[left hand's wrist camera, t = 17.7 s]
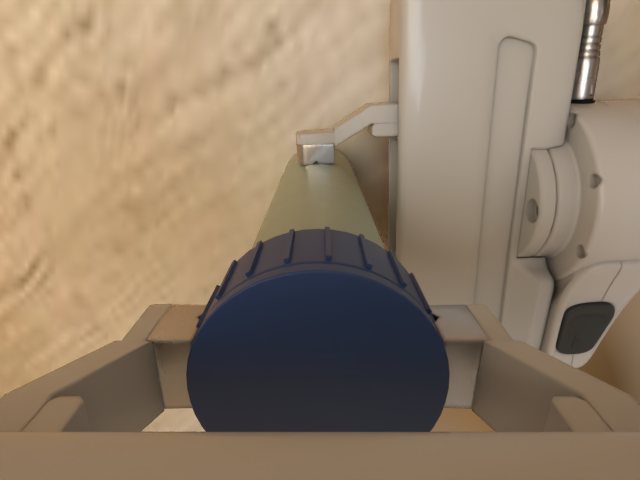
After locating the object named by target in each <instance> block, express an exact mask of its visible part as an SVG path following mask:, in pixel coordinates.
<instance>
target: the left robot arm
mask: <svg viewBox="0 0 640 480" xmlns="http://www.w3.org/2000/svg"><path fill="white" fill-rule="evenodd" d="M429 306H430V308H431V310H432V313H431V314H432V315H433V317H434V320H435V325H436V327H437V329H438V331H439V333H440V336H441V338H442V342H443V344H444V346H445V350H446V353H447V357H448V362H449V372H450V377H449V390H448V394H447V398H446V403H445V405H444V408H467V409H472V411H473V412H474V413H475V414H476V415H478V416H479V417H480V418H481V419H482V420H483V421H484V422H486V423H487V424H488V425H489V426H490V427H491V428H492V429H493V430H494V431H496V432H141V431H142V430H143V429H144V428H145V427H146V426H147V425H149V424H150V423H151V422H152V421H153V420H154V419H155V418H156V417H158V416H159V415H160V414H161V413H162V412H163V411H164V409H169V408H192V405H191V403H190V399H189V394H188V390H187V380H186V370H187V360H188V356H189V352H190V349H191V345H192V343H193V341H194V339H195V337H196V334H197V332H198V330H199V328H197V327H196V325H197V323H198V321H199V319H200V317H201V315H202V313H203V311H204V309H205V307H206V305H179V304H174V305H172V304H153V305H150V306H149V307H148V308H147V309H146V311H145V312H144V313H143V314H142V316H141V317H140V318H139V319H138V321H137V322H136V323H135V325H134V326H133V327H132V328H131V330H130V331H129V332H128V333H127V335H126V336H125V337H124V338H123V340H122V341H114V342H112V343H110V344H108V345H106V346H104V347H102V348H100V349H98V350H95V351H93V352H91V353H89V354H87V355H85V356H83V357H81V358H79V359H77V360H75V361H73V362H71V363H69V364H67V365H65V366H63V367H61V368H59V369H57V370H54V371H52V372H50V373H48V374H46V375H44V376H42V377H40V378H38V379H36V380H34V381H32V382H30V383H28V384H26V385H24V386H22V387H20V388H18V389H16V390H13V391H11V392H9V393H7V394H5V395H4V396H3V397H2V398H1V399H0V480H640V404H639V403H638V402H637V401H636V400H635V399H634V398H633V397H632V396H631V395H629V394H627V393H625V392H623V391H621V390H619V389H617V388H615V387H613V386H611V385H609V384H607V383H605V382H603V381H601V380H599V379H597V378H595V377H593V376H591V375H589V374H587V373H585V372H583V371H581V370H579V369H577V368H575V367H573V366H571V365H569V364H567V363H564V362H562V361H560V360H558V359H556V358H554V357H552V356H550V355H548V354H546V353H544V352H542V351H540V350H538V349H536V348H534V347H532V346H530V345H528V344H526V343H524V342H522V341H514V340H513V339H512V337H511V336H510V335H509V333H508V332H507V331H506V330H505V328H504V327H503V326H502V324H501V323H500V322H499V321H498V319H497V318H496V317H495V315H494V314H493V313H492V311H491V310H490V309H489V308H488V306H487V305H484V304H469V305H429Z"/></svg>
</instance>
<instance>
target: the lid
mask: <svg viewBox="0 0 640 480" xmlns="http://www.w3.org/2000/svg"><path fill="white" fill-rule="evenodd" d="M431 313H432V310H431V308H430V306H429V304H428V302H427V300H426V298H425V296H424V294H423V292H422V290H421V288H420V286H419V284H418V282H417V280H416V278H415V276H414V274H413V273H410V274H409V273H408V271H407V270H406V269H405V268H404V266H403V265H402V264H401V263H400V262H399V261H398V260H397V259H396V257H395V255H394V253H393V251H391V250H389V251H387V250H385V249H384V248H382V247H380V246H379V245H377V244H376V243H374V242H372V241H370V240H368V239H365V237H364V235H363V234H359V236H358V235H355V234H351V233H348V232H343V231H338V230H331V229H330V227H325V229H305V230H299V231H294V229H290V230H289V232H288V233H285V234H282V235H279V236H276V237H273V238H271V239H269V240H267V241H265V242H262V241H259V242H257V244H256V247H254V248H253V249H251V250H250V251H248V252H247V253H246V254H245V255H244V256H243V257H241V258H240V259H239V260H238V261H235V260H234V261H233V262H232V264H231V266H230V268H229V270H228V272H227V274H226V276H225V278H224V280H223V282H222V284H221V286H218V285H217V286H216V288H215V290H214V292H213V294H212V296H211V298H210V300H209V302H208V304H207V305H206V307H205V309H204V311H203V313H202V315H201V317H200V319H199V321H198V323H197V325H196V327H197V328H199V330H198V332H197V334H196V337H195V339H194V341H193V343H192V345H191V349H190V352H189V356H188V360H187V370H186V380H187V390H188V394H189V399H190V403H191V405H192V408H193V410H194V413H195V415H196V417H197V419H198V420H199V422H200V424H201V425H202V427H203V428H204V430H205V431H206V432H430V431H431V430H432V428H433V427H434V425H435V424H436V422H437V420H438V419H439V417H440V415H441V413H442V410H443V408H444V405H445V403H446V398H447V394H448V390H449V377H450V372H449V362H448V357H447V353H446V350H445V346H444V344H443V342H442V338H441V336H440V333H439V331H438V329H437V327H436V325H435V320H434V317H433V315H432V314H431Z"/></svg>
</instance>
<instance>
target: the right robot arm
mask: <svg viewBox="0 0 640 480" xmlns="http://www.w3.org/2000/svg"><path fill="white" fill-rule="evenodd" d="M609 9H610V0H391V1H390V48H389V102H385V103H369V104H365V105H363V106H362V107H360V108H359V109H358V110H356V111H355V112H353V113H352V114H350V115H349V116H347V117H346V118H344V119H343V120H341V121H340V122H338V123H337V124H335V125H334V126H333V129H316V130H303V131H297V133H296V143H297V154H298V164H299V165H312V164H314V163H315V162H318V163H319V164H335V146H337V145H339V144H340V143H342V142H344V141H345V140H347V139H348V138H350V137H351V136H353V135H355V134H356V133H358V132H359V131H361V130H362V129H364V128H365V127H367V130H368V131H369V132H370V133H371V134H372V135H373V136H374V137H383V136H389V166H388V251H389V250H391V251H393V253H394V255H395V257H396V259H397V260H398V261H399V262H400V263H401V264H402V265H403V266H404V268H405V269H406V270H407V271H408V273H409V274H410V273H413V274H414V276H415V278H416V280H417V282H418V284H419V286H420V288H421V290H422V292H423V294H424V296H425V298H426V300H427V302H428V304H429V305H469V304H484V305H487V306H488V308H489V309H490V310H491V311H492V313H493V314H494V315H495V317H496V318H497V319H498V321H499V322H500V323H501V324H502V326H503V327H504V328H505V330H506V331H507V332H508V333H509V335H510V336H511V337H512V339H513V340H514V341H522V342H524V343H526V344H528V345H530V346H532V347H534V348H536V349H538V350H540V351H542V352H544V353H546V354H548V355H550V356H552V357H554V358H556V359H558V360H560V361H562V362H564V363H567V364H569V365H571V366H573V367H575V368H579V367H581V366H583V365H584V364H585V363H586V362H587V361H588V360H589V359H590V358H591V356H592V355H593V353H594V352H595V350H596V348H597V347H598V345H599V344H600V342H601V340H602V339H603V337H604V336H605V334H606V333H607V331H608V330H609V328H610V327H611V325H612V324H613V322H614V321H615V319H616V318H617V317H618V315H619V314H620V313H621V311H622V310H623V309H624V307H625V306H626V305H627V304H628V302H629V301H630V300H631V299H632V298H633V297H634V296H635V294H636V293H637V292H638V291H639V290H640V99H626V100H608V101H595V100H593V97H594V92H595V86H596V81H597V75H598V70H599V62H600V57H599V56H600V51H599V49H600V47H601V44H600V42H601V38H602V37H601V36H602V33H603V28H604V25H605V24H606V22H607V19H608V15H609Z"/></svg>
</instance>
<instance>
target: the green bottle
mask: <svg viewBox="0 0 640 480" xmlns="http://www.w3.org/2000/svg"><path fill="white" fill-rule="evenodd" d="M325 227H330V229H331V230H338V231H343V232H348V233H351V234H355V235H358V236H359V234H363V235H364V237H365V239H368V240H370V241H372V242H374V243H376V244H377V245H379V246H380V247H382V248H384V245H383V243H382V240H381V238H380V235H379V233H378V230H377V228H376V225H375V223H374V220H373V218H372V215H371V213H370V210H369V208H368V205H367V203H366V200H365V198H364V195H363V193H362V190H361V188H360V185H359V183H358V181H357V178H356V176H355V173H354V171H353V168H352V166H351V164H350V162H349V161H348V159H347V158H346V157H345V156H344V155H343V154H342V153H341V152H339V151H338V150H336V149H335V164H319V163H318V162H315V163H314V164H312V165H299V164H298V154H297V153H296V154H295V155H294V156H293V157H292V158H291V160H290V161H289V163H288V164H287V166H286V169H285V171H284V173H283V176H282V178H281V181H280V183H279V185H278V188H277V190H276V193H275V195H274V197H273V200H272V202H271V205H270V207H269V209H268V212H267V214H266V217H265V219H264V221H263V224H262V226H261V229H260V231H259V233H258V236H257V238H256V241H255V243H254V245H253V248H254V247H256V244H257V242H259V241H262V242H265V241H267V240H269V239H271V238H273V237H276V236H279V235H282V234H285V233H288V232H289V230H290V229H294V231H299V230H305V229H325ZM253 248H252V249H253ZM384 249H385V248H384Z"/></svg>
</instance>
